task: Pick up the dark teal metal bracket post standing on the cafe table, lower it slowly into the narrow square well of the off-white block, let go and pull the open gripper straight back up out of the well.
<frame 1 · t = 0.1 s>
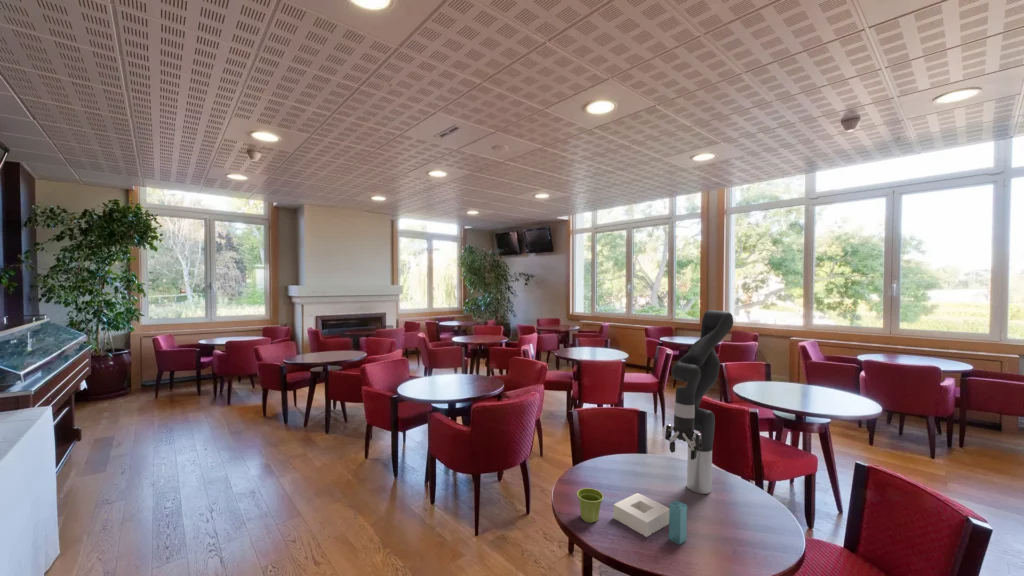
hand: (682, 455, 167), 17 cm above the table, tool pointing down, fingers open, 8 cm apart
plant pot: (589, 518, 153), on the table
bracket post: (677, 539, 141), on the table
well block: (641, 520, 152), on the table
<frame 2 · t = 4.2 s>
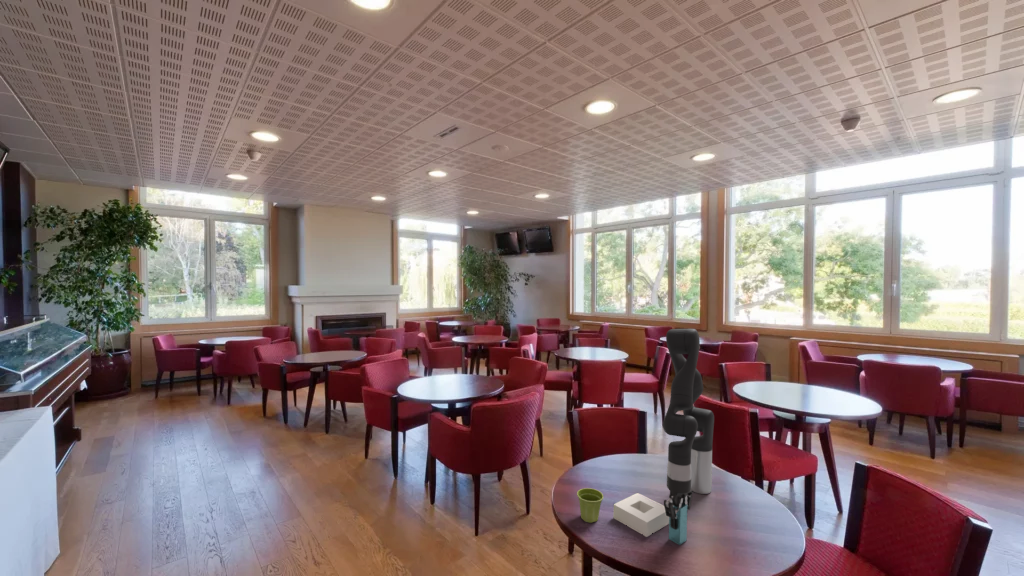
hand: (677, 525, 141), 5 cm above the table, tool pointing down, fingers closed on bracket post, 4 cm apart
bracket post: (677, 539, 141), on the table, touching gripper
everything else where it was.
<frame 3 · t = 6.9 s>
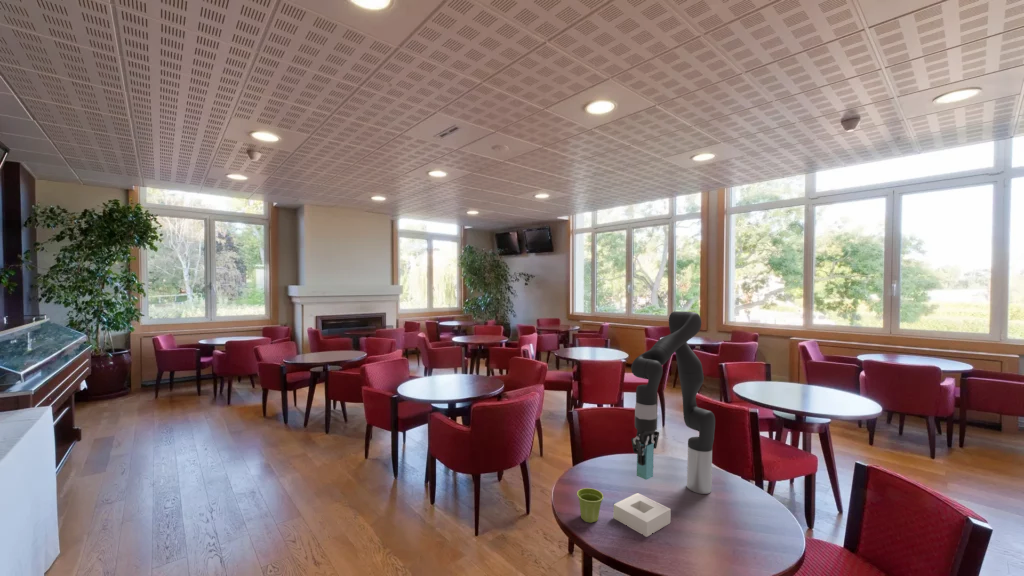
hand: (645, 462, 151), 21 cm above the table, tool pointing down, fingers closed on bracket post, 4 cm apart
bracket post: (644, 476, 151), point 16 cm above the table, touching gripper
everything else where it was.
when the fingers open (7 cm above the table, at t = 9.6 s): bracket post drops 2 cm, resting in well block.
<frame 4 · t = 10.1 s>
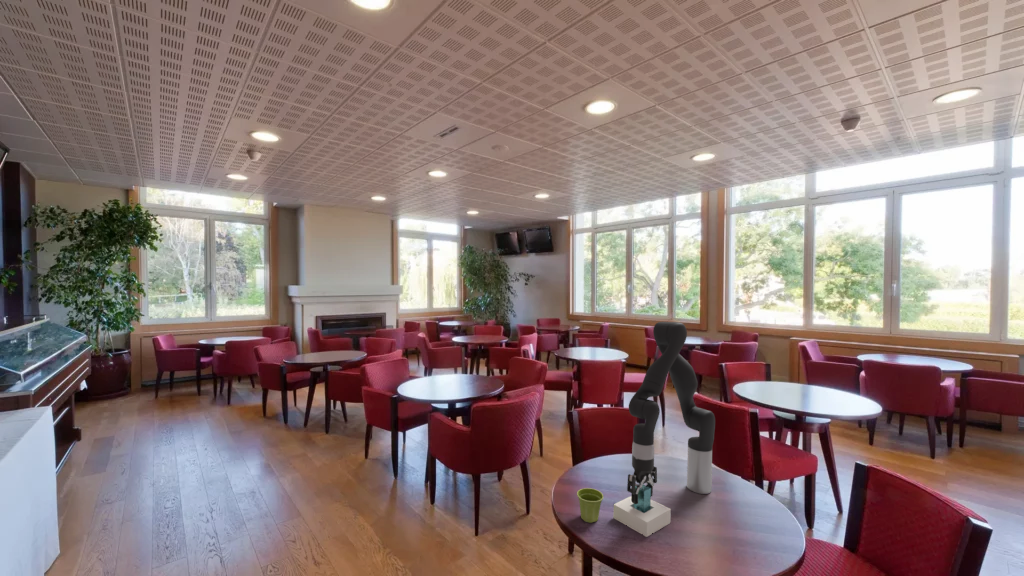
hand: (642, 499, 152), 8 cm above the table, tool pointing down, fingers open, 8 cm apart
bracket post: (641, 520, 152), resting in well block
everything else where it was.
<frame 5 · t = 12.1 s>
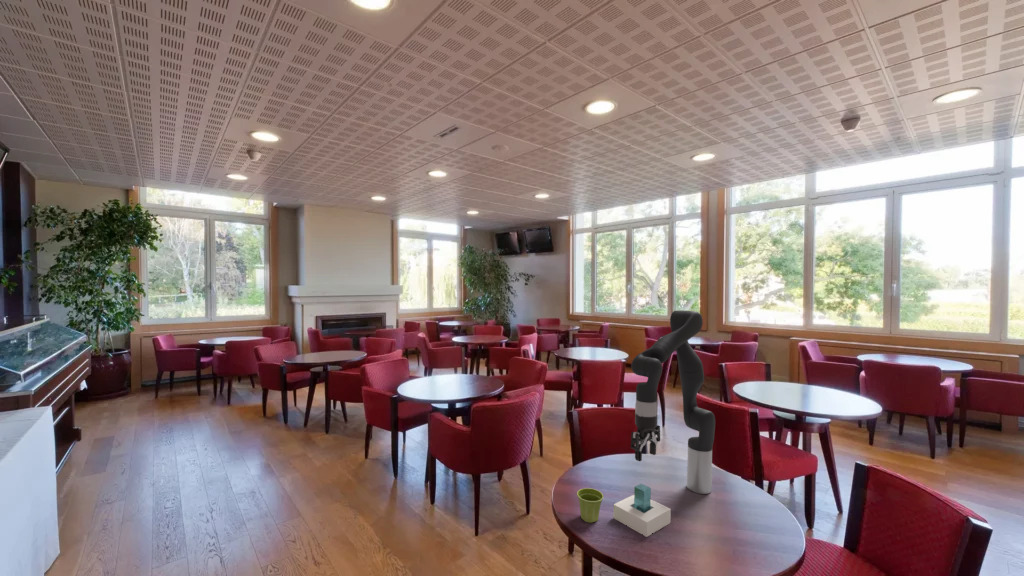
hand: (645, 457, 153), 22 cm above the table, tool pointing down, fingers open, 8 cm apart
nothing on the table moved.
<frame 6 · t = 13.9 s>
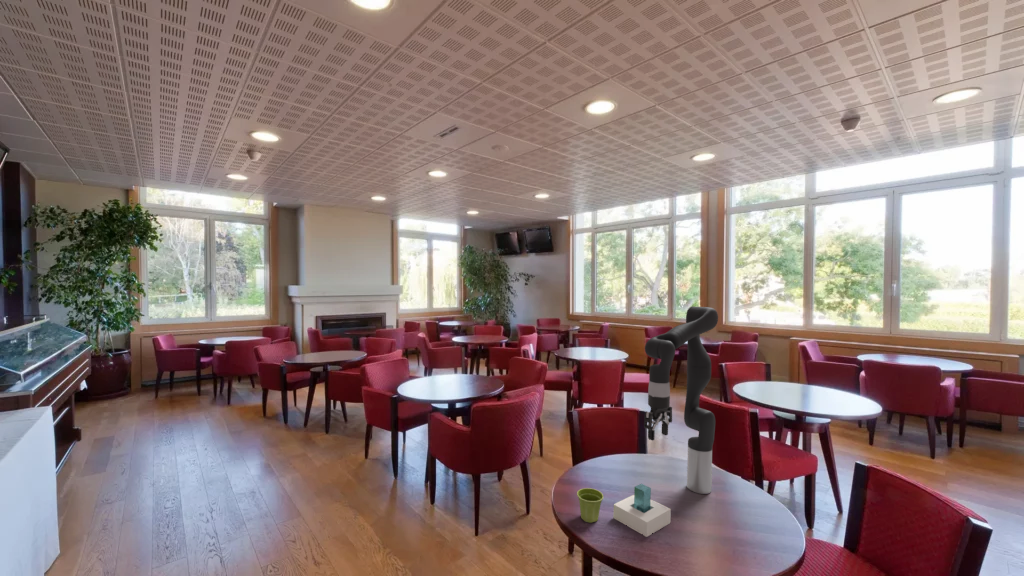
hand: (658, 437, 157), 28 cm above the table, tool pointing down, fingers open, 8 cm apart
nothing on the table moved.
at the end: bracket post 0.1 cm off-centre on the well block, point 0.0 cm above the well block's base; bracket post tilted 0°; the gripper is holding nothing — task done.
